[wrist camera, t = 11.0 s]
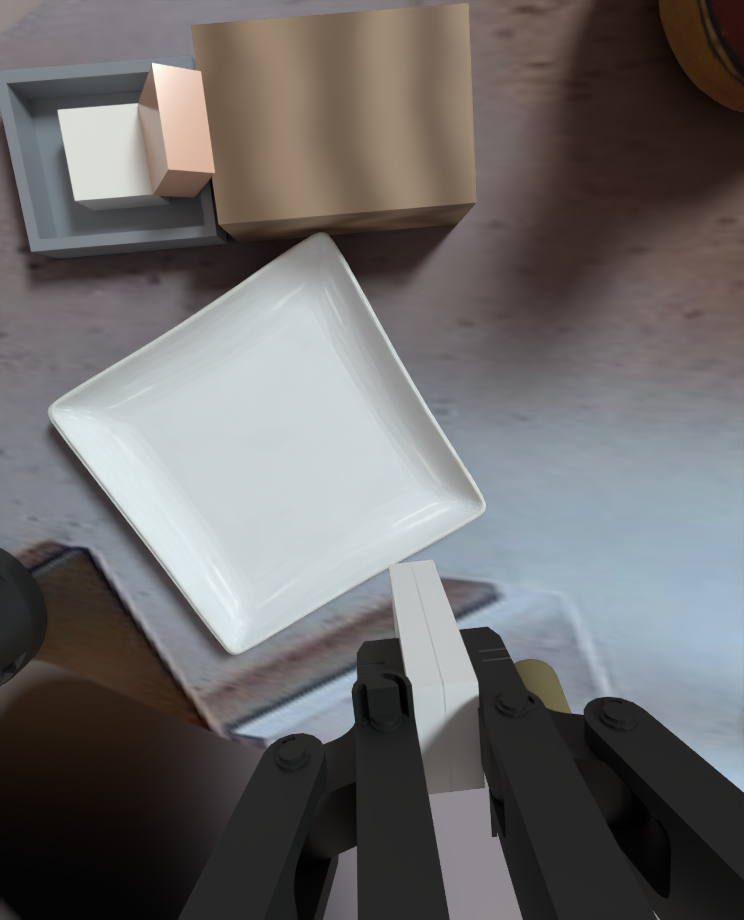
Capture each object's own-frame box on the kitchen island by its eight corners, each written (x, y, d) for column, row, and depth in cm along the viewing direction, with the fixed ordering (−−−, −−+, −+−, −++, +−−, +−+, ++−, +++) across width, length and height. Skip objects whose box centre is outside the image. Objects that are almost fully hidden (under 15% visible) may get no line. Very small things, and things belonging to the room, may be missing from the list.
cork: (499, 714, 54) (535, 806, 43) (498, 661, 53) (535, 743, 42) (558, 709, 54) (608, 799, 43) (558, 656, 53) (610, 736, 42)
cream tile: (156, 194, 39) (170, 204, 42) (141, 102, 38) (157, 120, 41) (74, 200, 39) (94, 210, 42) (57, 109, 38) (78, 126, 41)
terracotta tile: (194, 197, 40) (152, 195, 39) (181, 110, 39) (137, 104, 38) (215, 173, 35) (168, 169, 34) (201, 71, 34) (151, 62, 33)
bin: (56, 258, 43) (31, 251, 40) (22, 94, 41) (-8, 71, 37) (227, 244, 43) (217, 235, 40) (204, 79, 41) (191, 55, 37)
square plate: (62, 404, 46) (36, 410, 42) (328, 234, 44) (325, 223, 40) (238, 641, 52) (229, 664, 48) (482, 500, 49) (493, 513, 46)
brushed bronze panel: (239, 243, 43) (218, 224, 37) (217, 78, 41) (190, 25, 34) (457, 224, 44) (476, 202, 37) (449, 59, 41) (468, 2, 34)
